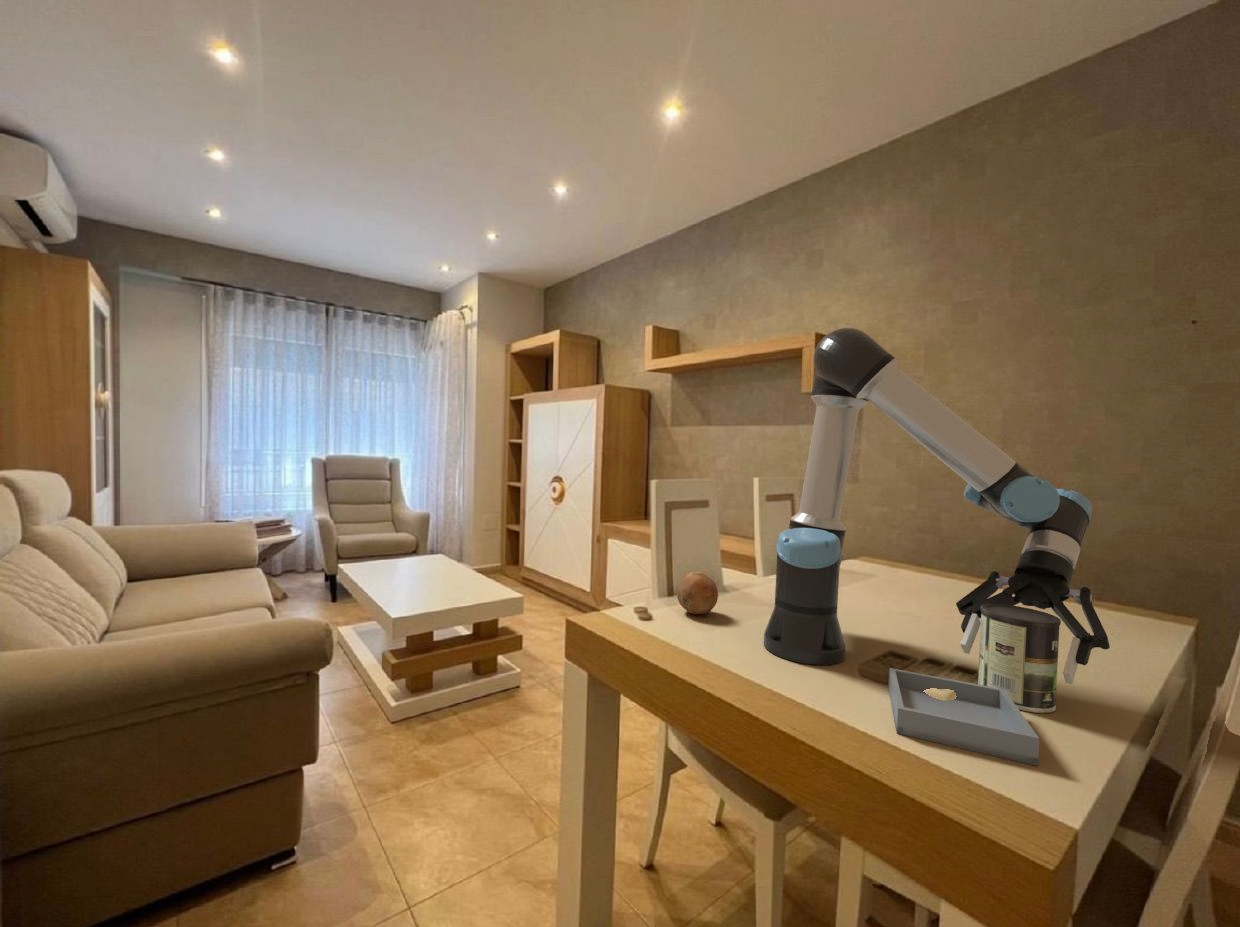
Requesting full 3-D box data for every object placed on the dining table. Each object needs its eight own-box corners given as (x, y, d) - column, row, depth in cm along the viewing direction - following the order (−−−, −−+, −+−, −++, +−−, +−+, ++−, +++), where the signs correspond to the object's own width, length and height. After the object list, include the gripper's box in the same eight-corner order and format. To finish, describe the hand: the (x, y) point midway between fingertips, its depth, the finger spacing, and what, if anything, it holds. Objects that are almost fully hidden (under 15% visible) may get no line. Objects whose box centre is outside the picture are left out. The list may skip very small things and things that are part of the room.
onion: (723, 613, 123) (725, 571, 123) (707, 623, 114) (709, 579, 114) (687, 605, 128) (689, 565, 128) (669, 614, 120) (671, 572, 120)
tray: (896, 733, 70) (897, 708, 70) (888, 688, 84) (889, 667, 84) (1038, 766, 63) (1039, 738, 63) (1003, 712, 78) (1004, 689, 78)
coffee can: (1049, 695, 85) (1054, 611, 84) (1062, 720, 76) (1067, 627, 76) (974, 678, 90) (978, 599, 90) (978, 700, 81) (983, 613, 81)
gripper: (1149, 592, 82) (1123, 707, 73) (971, 562, 102) (934, 650, 93) (1144, 561, 79) (1116, 679, 70) (962, 537, 99) (923, 626, 90)
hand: (1012, 663), depth 82 cm, fingers open, 13 cm apart
